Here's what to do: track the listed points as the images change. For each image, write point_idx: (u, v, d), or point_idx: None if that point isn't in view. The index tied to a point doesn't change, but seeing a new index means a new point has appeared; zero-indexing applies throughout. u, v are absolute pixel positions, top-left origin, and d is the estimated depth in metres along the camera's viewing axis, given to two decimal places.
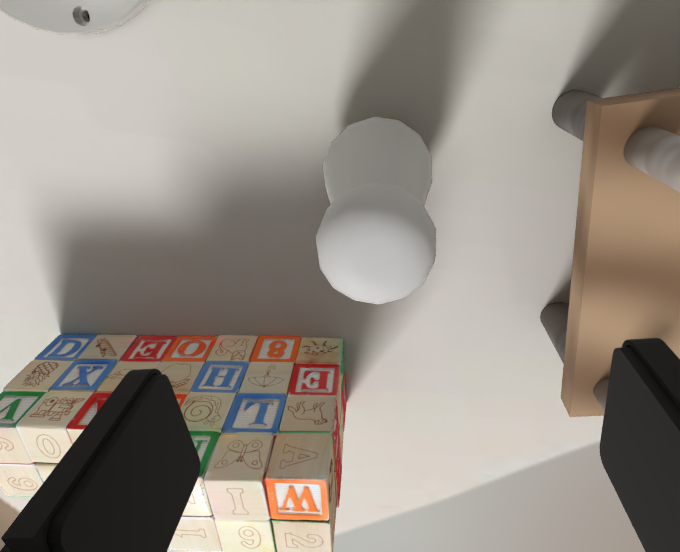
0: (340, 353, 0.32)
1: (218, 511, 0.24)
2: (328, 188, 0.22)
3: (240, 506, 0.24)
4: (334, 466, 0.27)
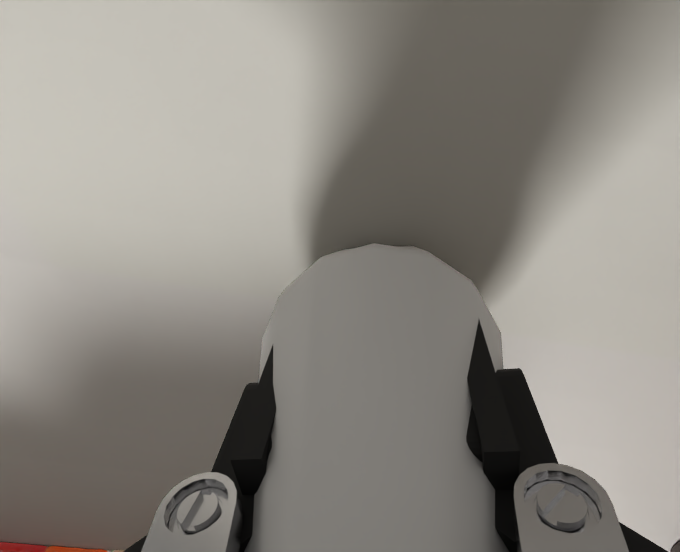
0: None
1: None
2: None
3: None
4: None
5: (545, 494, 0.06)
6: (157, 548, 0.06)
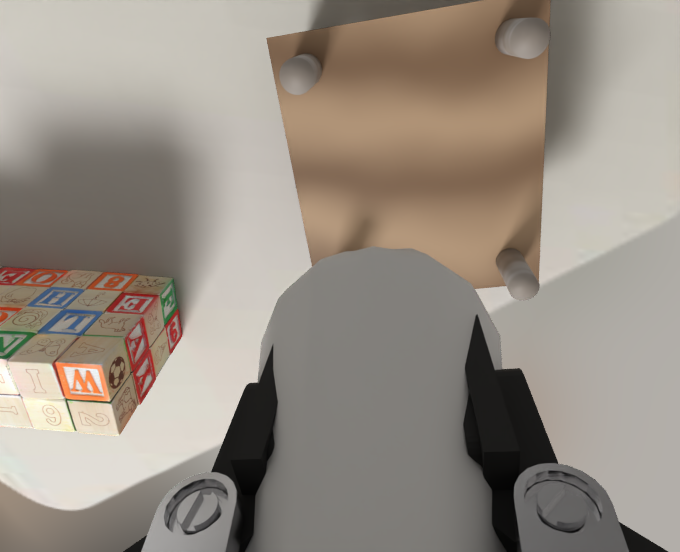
0: (164, 287, 0.39)
1: (23, 389, 0.31)
2: None
3: (39, 385, 0.31)
4: (129, 366, 0.34)
5: (545, 494, 0.06)
6: (157, 548, 0.06)
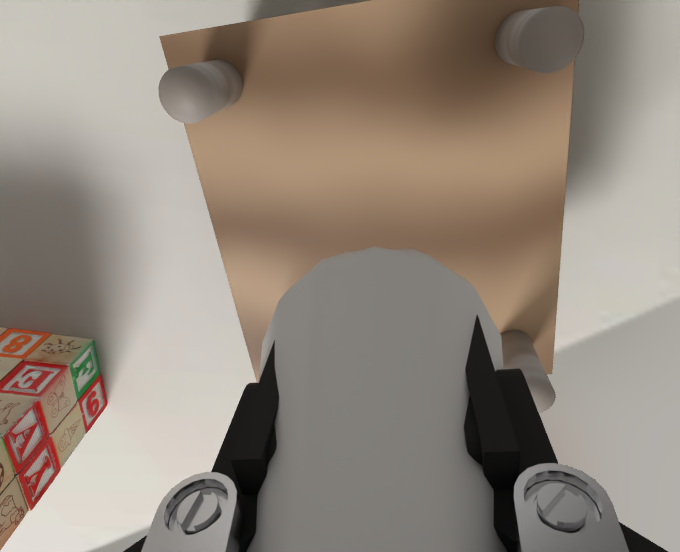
0: (78, 354, 0.31)
1: None
2: None
3: None
4: (12, 469, 0.26)
5: (545, 494, 0.06)
6: (157, 548, 0.06)
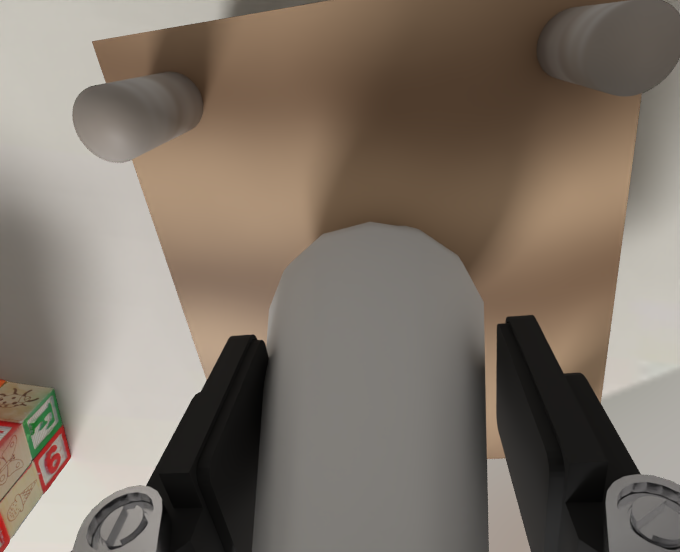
0: (34, 408, 0.28)
1: None
2: (262, 410, 0.10)
3: None
4: None
5: (642, 505, 0.06)
6: None
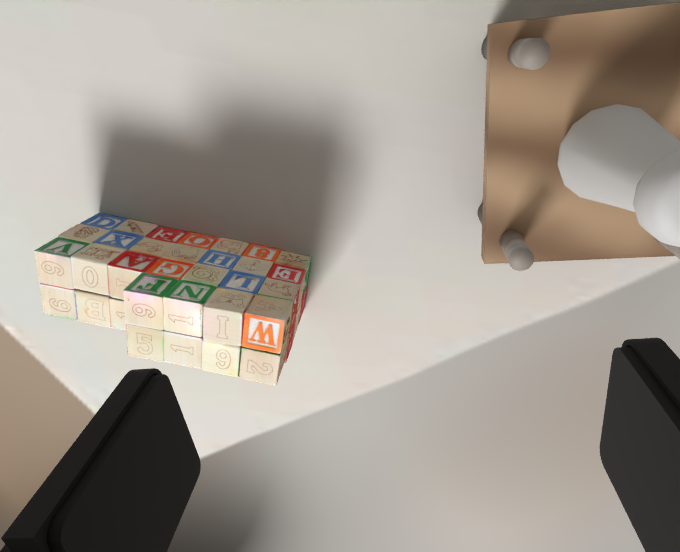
0: (307, 264, 0.44)
1: (207, 333, 0.36)
2: (594, 160, 0.26)
3: (223, 331, 0.35)
4: (289, 327, 0.38)
5: None
6: None
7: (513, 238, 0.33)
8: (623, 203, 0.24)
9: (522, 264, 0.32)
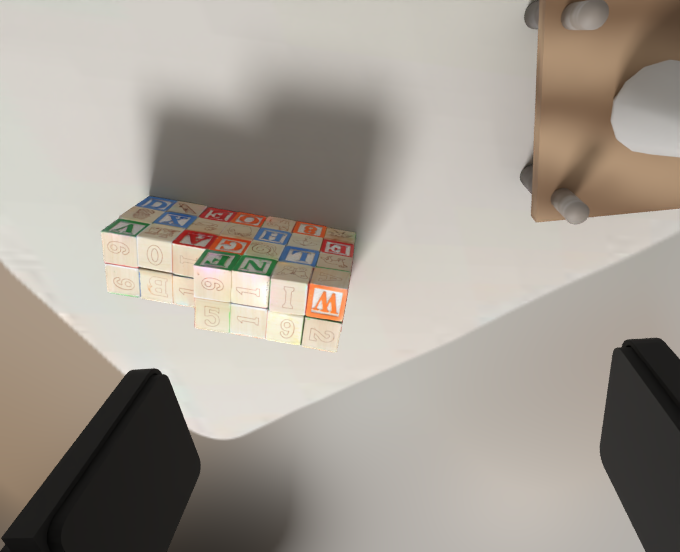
0: (354, 239, 0.46)
1: (273, 304, 0.38)
2: (654, 112, 0.28)
3: (289, 301, 0.38)
4: None
5: None
6: None
7: (566, 195, 0.35)
8: None
9: (578, 218, 0.34)
